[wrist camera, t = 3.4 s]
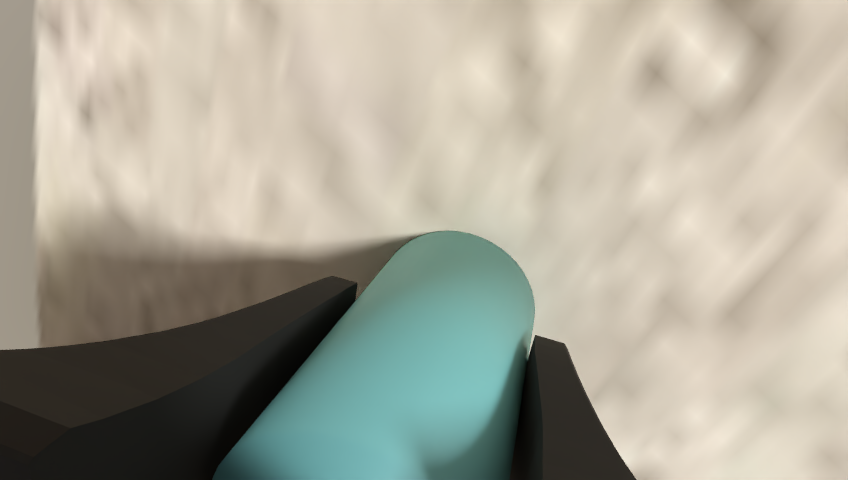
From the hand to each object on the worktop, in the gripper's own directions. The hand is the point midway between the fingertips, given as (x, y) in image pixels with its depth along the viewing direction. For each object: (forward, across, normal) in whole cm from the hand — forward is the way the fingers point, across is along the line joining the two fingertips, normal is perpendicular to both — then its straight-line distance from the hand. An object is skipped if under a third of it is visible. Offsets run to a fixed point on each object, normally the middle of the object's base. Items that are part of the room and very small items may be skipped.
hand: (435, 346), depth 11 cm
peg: (+2, 0, 0) cm, 2 cm away
